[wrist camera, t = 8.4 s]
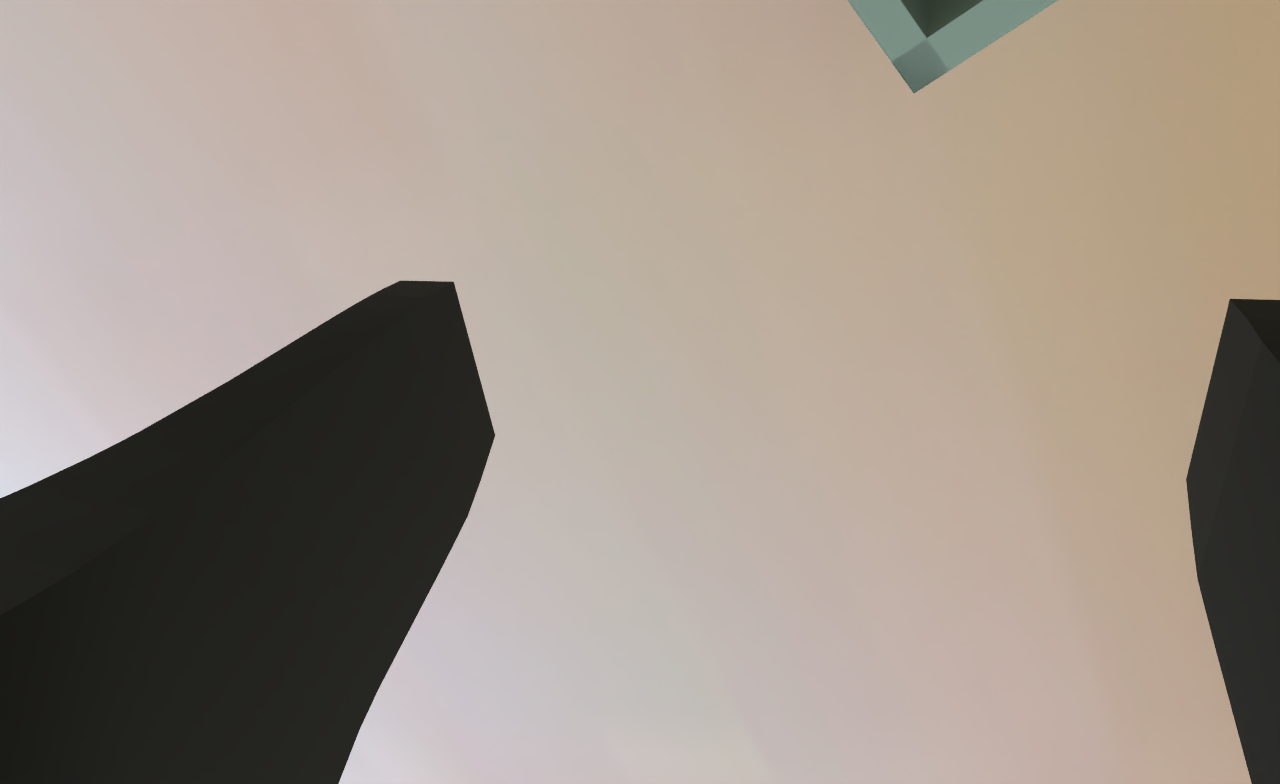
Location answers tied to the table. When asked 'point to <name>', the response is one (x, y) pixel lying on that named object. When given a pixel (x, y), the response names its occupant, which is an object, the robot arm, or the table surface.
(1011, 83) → the table surface
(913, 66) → the tray
